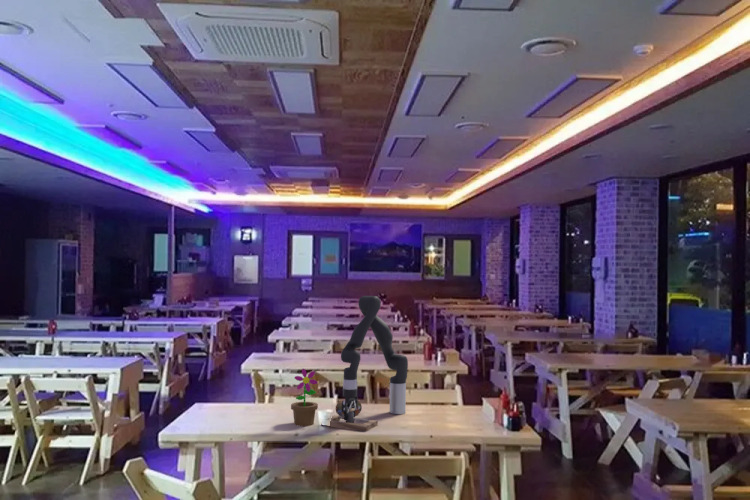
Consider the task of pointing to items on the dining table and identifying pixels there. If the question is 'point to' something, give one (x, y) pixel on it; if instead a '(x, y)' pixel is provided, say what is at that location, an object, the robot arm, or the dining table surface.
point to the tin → (339, 408)
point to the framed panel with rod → (353, 424)
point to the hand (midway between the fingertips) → (349, 418)
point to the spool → (350, 416)
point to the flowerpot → (304, 410)
